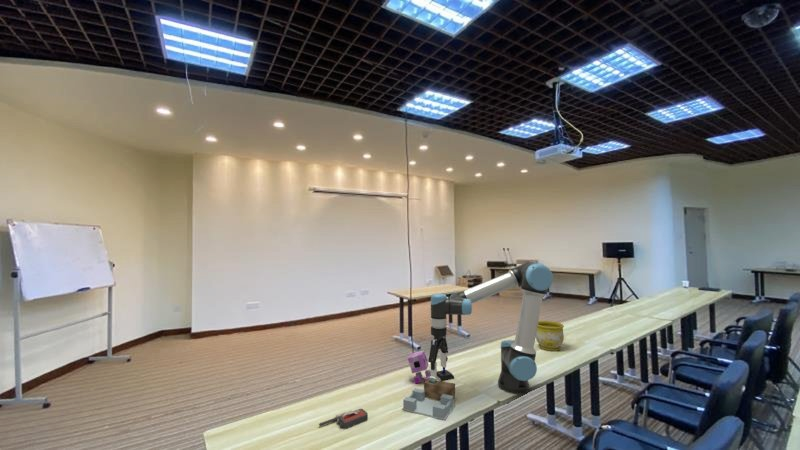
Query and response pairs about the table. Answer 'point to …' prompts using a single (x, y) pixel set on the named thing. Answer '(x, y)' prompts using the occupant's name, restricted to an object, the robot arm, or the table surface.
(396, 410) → the table surface
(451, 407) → the jig
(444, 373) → the figurine
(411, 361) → the toy
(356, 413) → the chainsaw
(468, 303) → the robot arm
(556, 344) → the flowerpot
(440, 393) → the wooden block
